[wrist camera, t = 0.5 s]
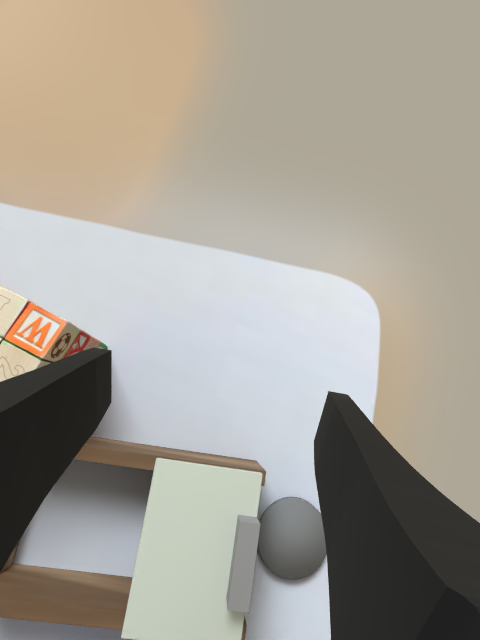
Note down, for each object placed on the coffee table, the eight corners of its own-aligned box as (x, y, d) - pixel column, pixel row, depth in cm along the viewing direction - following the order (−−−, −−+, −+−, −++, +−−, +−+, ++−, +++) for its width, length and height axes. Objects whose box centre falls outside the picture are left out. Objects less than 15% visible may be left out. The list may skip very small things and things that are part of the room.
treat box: (237, 604, 33) (244, 642, 28) (-6, 577, 31) (-46, 612, 26) (256, 460, 36) (266, 471, 31) (35, 428, 34) (6, 434, 29)
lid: (238, 643, 27) (242, 665, 25) (123, 631, 27) (115, 653, 24) (260, 472, 30) (266, 478, 28) (157, 457, 30) (153, 462, 27)
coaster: (322, 579, 34) (324, 583, 33) (251, 570, 34) (253, 574, 33) (328, 501, 36) (331, 504, 35) (261, 492, 35) (263, 494, 35)
